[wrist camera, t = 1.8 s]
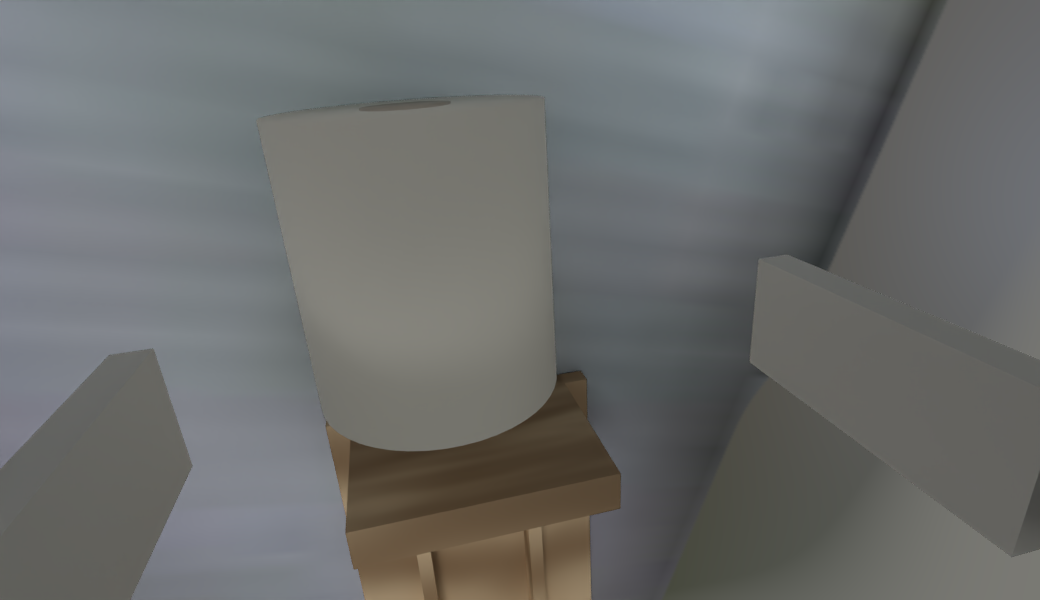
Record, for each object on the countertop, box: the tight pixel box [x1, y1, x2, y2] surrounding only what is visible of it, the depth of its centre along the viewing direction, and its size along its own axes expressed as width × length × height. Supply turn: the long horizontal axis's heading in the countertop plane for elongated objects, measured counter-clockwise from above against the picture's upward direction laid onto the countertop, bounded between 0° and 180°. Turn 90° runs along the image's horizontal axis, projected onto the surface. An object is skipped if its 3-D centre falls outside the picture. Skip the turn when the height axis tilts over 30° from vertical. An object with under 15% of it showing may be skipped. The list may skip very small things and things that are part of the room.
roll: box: [256, 95, 557, 451], centre depth 18 cm, size 9×8×8 cm
